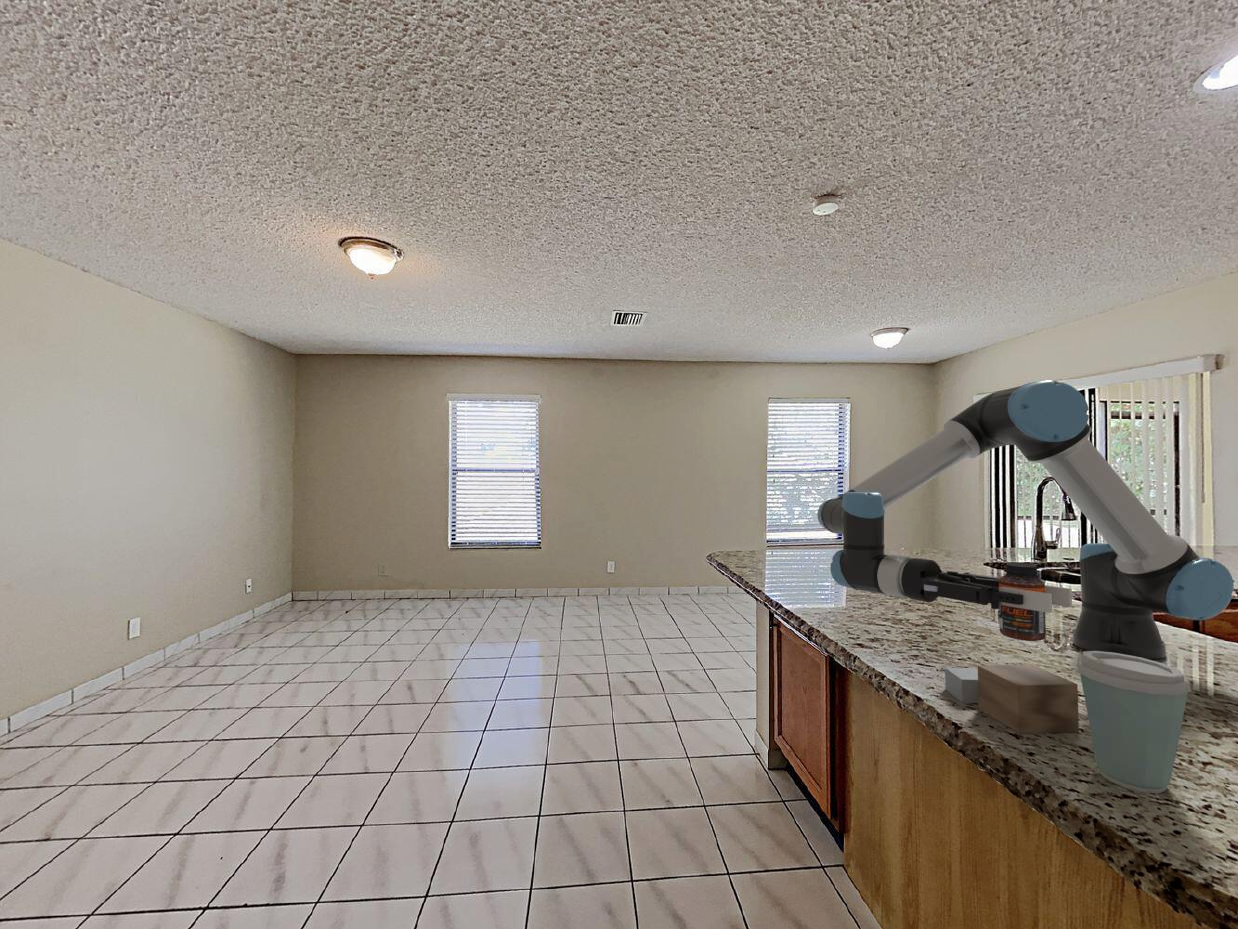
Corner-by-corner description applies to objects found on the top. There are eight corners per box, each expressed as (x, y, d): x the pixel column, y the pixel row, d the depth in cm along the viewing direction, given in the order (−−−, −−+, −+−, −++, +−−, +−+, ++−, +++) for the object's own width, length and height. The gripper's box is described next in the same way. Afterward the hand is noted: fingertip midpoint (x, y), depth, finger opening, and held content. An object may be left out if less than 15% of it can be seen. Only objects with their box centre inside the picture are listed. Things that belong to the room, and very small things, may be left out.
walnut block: (1032, 707, 93) (1031, 664, 93) (1079, 732, 84) (1077, 684, 84) (978, 709, 93) (977, 665, 93) (1019, 733, 84) (1017, 685, 84)
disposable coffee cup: (1128, 757, 76) (1124, 644, 77) (1223, 802, 65) (1218, 671, 66) (1057, 763, 75) (1053, 648, 75) (1141, 810, 64) (1137, 676, 65)
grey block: (981, 691, 101) (980, 668, 101) (1000, 704, 95) (999, 680, 95) (945, 690, 101) (944, 667, 101) (962, 703, 95) (961, 679, 96)
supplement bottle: (996, 637, 89) (994, 564, 89) (1003, 629, 93) (1001, 560, 93) (1043, 644, 84) (1041, 568, 85) (1048, 636, 89) (1046, 563, 89)
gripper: (940, 593, 109) (1088, 617, 89) (879, 605, 99) (1031, 635, 79) (939, 553, 109) (1087, 569, 89) (879, 561, 99) (1029, 581, 80)
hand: (1060, 600), depth 84 cm, fingers closed on supplement bottle, 6 cm apart
